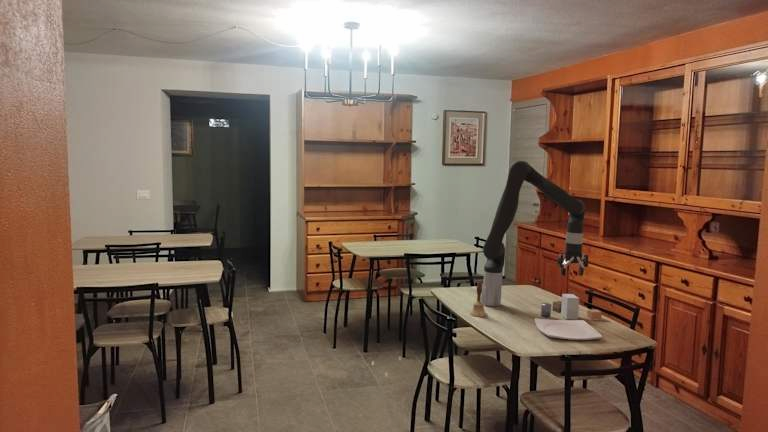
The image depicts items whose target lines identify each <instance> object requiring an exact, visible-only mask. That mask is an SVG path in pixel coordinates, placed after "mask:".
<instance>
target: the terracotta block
mask: <svg viewBox="0 0 768 432" xmlns="http://www.w3.org/2000/svg"><path fill="white" fill-rule="evenodd" d="M586 310H587V311H586V318H587V317H588V318H589V320H590V319H591V320H590V321H595V320H594V319H601V320H602V316H603V312H602V311H600V309H586ZM588 318H587V319H588Z"/></svg>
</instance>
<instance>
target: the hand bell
mask: <svg viewBox="0 0 768 432" xmlns="http://www.w3.org/2000/svg"><path fill="white" fill-rule="evenodd" d="M482 285H483V284H482V281H478V282H477V285H476V295H477V296H476V302H474V303H473V307H472V310H471V311H469V316H472V317H476V318H485V317H487V316H488V313H487V312H486V311H485V308H484V304H483V303H481V295H482Z"/></svg>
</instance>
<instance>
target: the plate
mask: <svg viewBox="0 0 768 432" xmlns="http://www.w3.org/2000/svg"><path fill="white" fill-rule="evenodd" d="M534 321H535V326H536V327H537V329H538V330H539V331H540V332H541V333H542V334H544V335H546V336H548V337H549V338H555V339H561V340H566V339H568V340H567V341H586V340H587V341H590V340H599V339H601V338H603V335H601V333H599V332H598V331H597V330H596V329H595V328H593V327H592V326H591V325H590V324H588V323H587V322H586V321H585V320H583V319H581V320H579V319H578V320H571V319H566V320H565V319H563V320H562V319H548V318H545V319H544V318H534Z"/></svg>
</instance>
